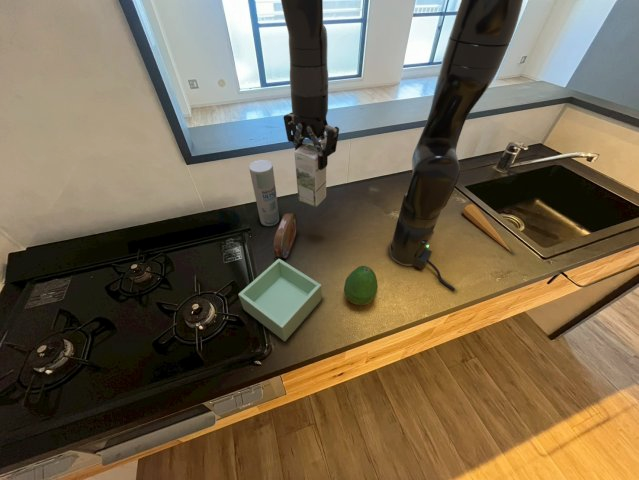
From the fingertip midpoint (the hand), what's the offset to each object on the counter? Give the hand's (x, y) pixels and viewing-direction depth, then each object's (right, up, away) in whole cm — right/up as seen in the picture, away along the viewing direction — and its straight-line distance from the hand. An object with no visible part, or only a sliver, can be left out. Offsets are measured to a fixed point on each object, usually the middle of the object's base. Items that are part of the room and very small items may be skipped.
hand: (311, 163), depth 67 cm
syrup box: (0, -8, +8) cm, 11 cm away
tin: (-8, -20, +16) cm, 27 cm away
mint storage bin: (-7, -34, +2) cm, 35 cm away
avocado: (+12, -33, +3) cm, 36 cm away
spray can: (-14, -12, +24) cm, 31 cm away
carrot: (+54, -16, +20) cm, 60 cm away
